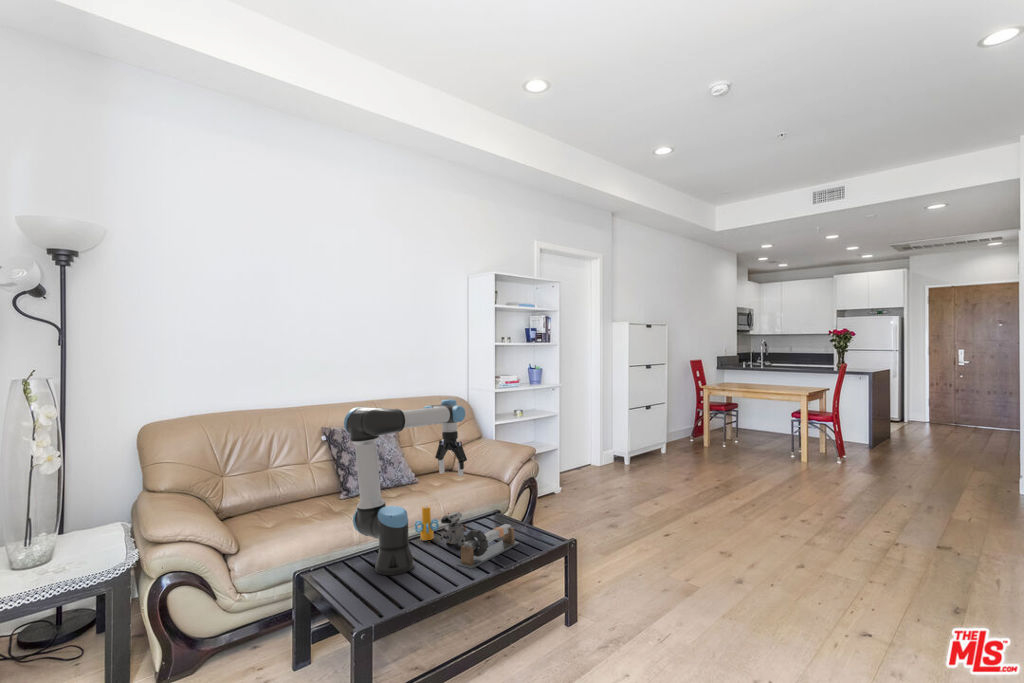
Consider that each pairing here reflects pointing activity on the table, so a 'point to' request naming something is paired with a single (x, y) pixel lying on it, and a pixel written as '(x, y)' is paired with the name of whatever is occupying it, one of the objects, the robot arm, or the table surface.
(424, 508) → the yellow blue looped tower
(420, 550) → the table surface
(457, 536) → the figurine
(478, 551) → the dark gear wheel
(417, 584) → the table surface
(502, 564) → the table surface
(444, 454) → the robot arm
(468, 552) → the grey rail stand
